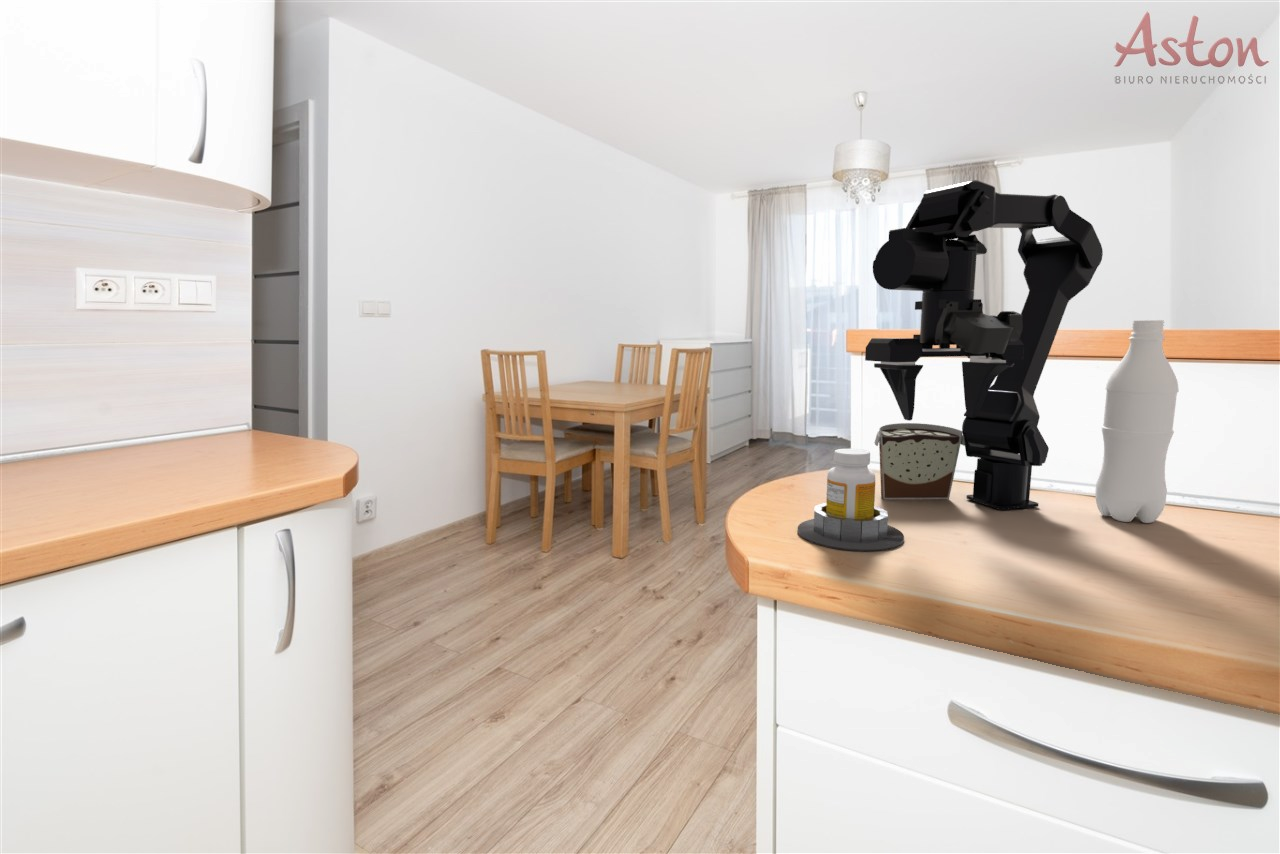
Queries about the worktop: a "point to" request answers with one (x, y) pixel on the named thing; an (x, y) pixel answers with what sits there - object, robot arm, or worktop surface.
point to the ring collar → (851, 531)
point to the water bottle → (1137, 429)
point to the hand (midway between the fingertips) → (940, 418)
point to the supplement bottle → (851, 485)
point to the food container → (917, 460)
